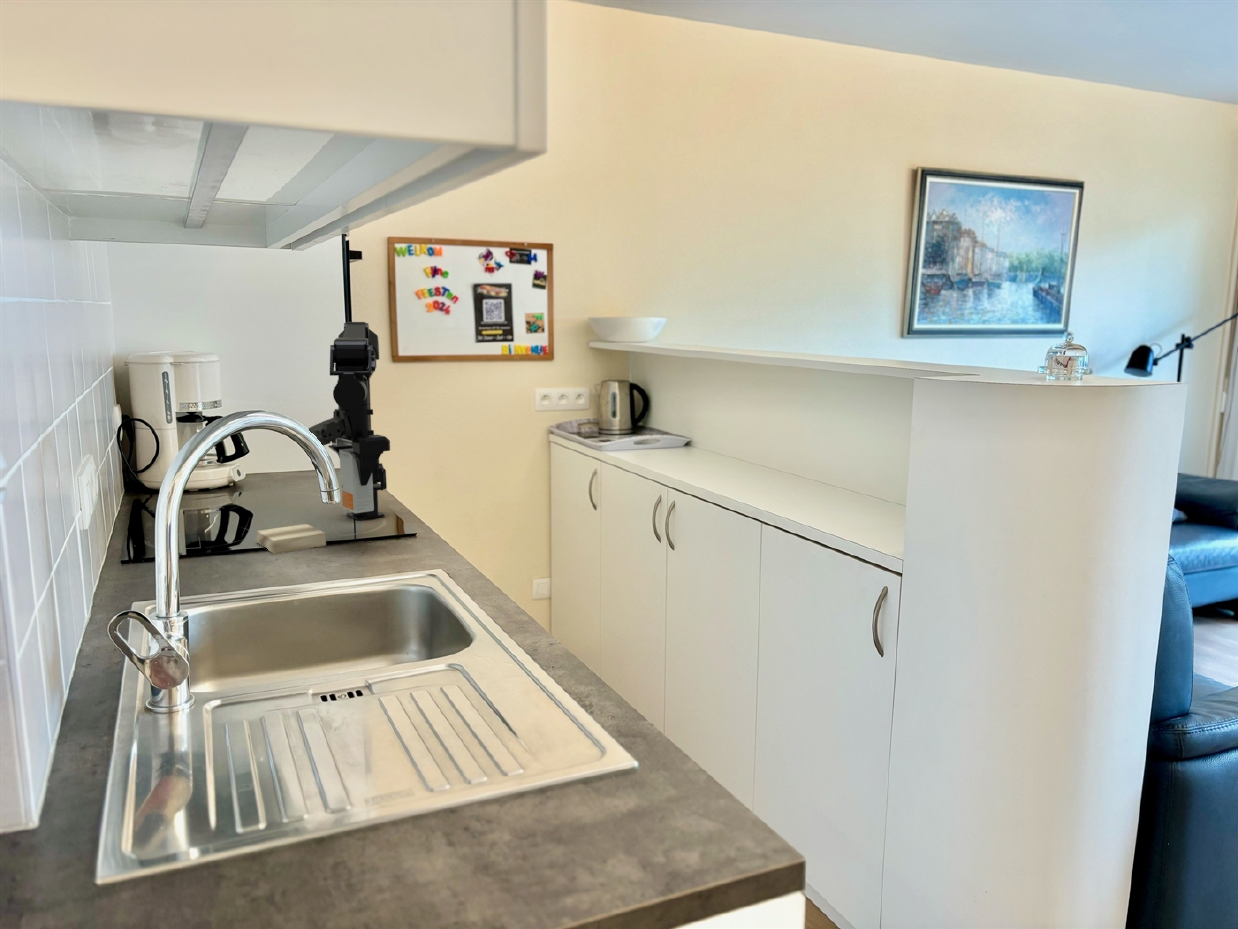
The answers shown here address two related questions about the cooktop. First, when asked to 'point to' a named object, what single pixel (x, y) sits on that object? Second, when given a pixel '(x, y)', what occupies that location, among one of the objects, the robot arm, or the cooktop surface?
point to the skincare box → (354, 485)
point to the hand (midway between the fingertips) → (356, 483)
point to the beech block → (291, 538)
